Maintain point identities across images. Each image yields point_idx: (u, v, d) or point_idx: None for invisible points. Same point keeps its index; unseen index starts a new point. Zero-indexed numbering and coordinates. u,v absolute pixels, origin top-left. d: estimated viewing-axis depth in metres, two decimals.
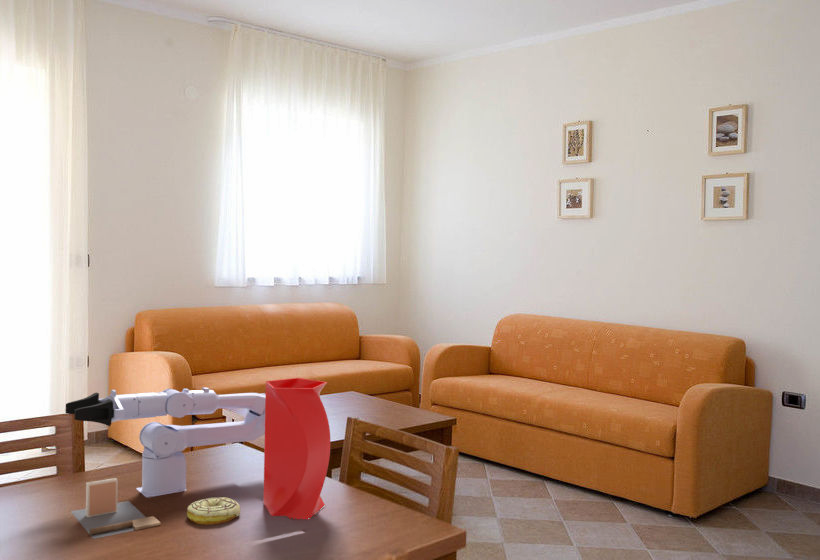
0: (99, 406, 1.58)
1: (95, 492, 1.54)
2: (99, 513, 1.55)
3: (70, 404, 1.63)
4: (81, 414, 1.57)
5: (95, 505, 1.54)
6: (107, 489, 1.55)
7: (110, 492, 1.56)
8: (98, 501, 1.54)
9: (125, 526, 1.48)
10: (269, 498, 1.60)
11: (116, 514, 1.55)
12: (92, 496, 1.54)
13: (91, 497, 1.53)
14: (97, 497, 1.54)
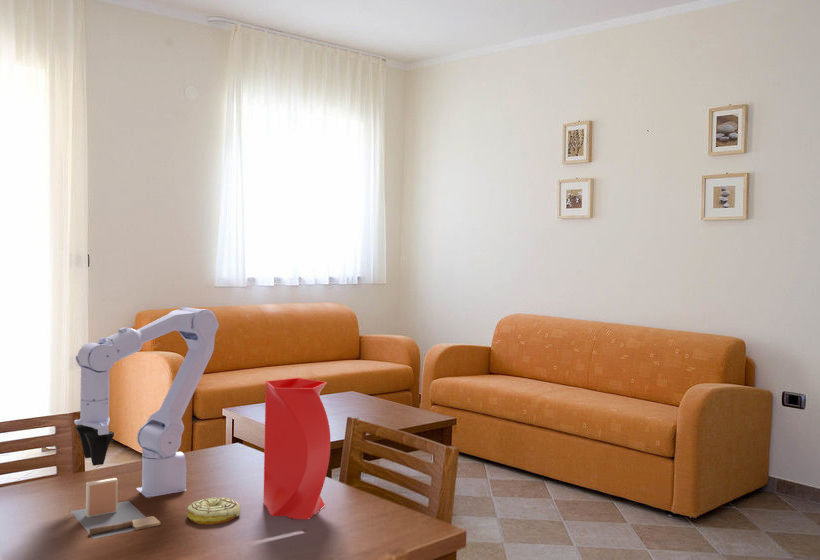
0: (92, 445, 1.55)
1: (95, 492, 1.54)
2: (99, 513, 1.55)
3: (86, 454, 1.62)
4: (98, 459, 1.57)
5: (95, 505, 1.54)
6: (107, 489, 1.55)
7: (110, 492, 1.56)
8: (98, 501, 1.54)
9: (125, 526, 1.48)
10: (269, 498, 1.60)
11: (116, 514, 1.55)
12: (92, 496, 1.54)
13: (91, 497, 1.53)
14: (97, 497, 1.54)
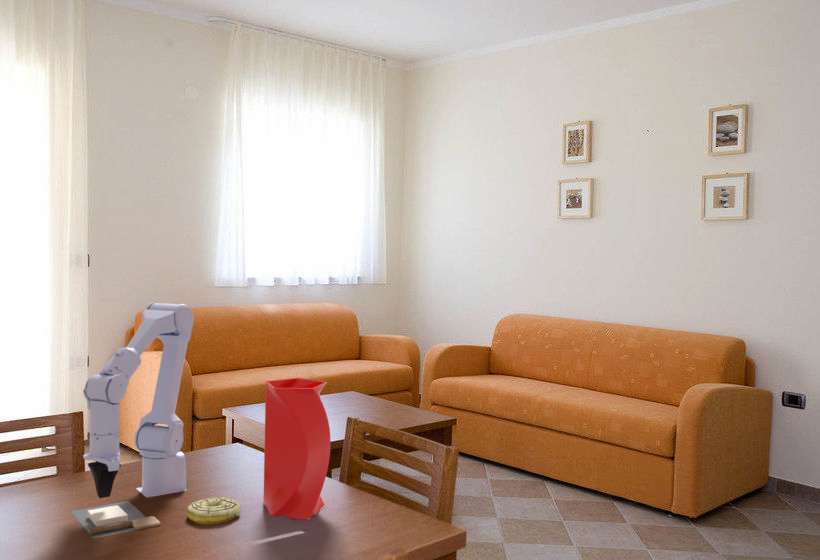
0: (98, 478, 1.52)
1: None
2: None
3: None
4: (104, 492, 1.54)
5: None
6: None
7: None
8: None
9: (125, 526, 1.48)
10: (269, 498, 1.60)
11: None
12: None
13: None
14: None
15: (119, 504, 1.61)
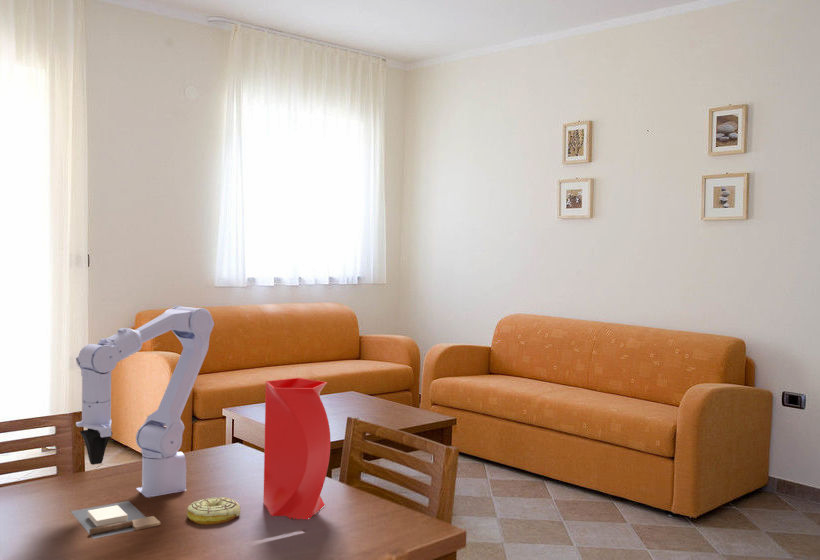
0: (90, 445, 1.56)
1: None
2: None
3: None
4: (96, 458, 1.58)
5: None
6: None
7: None
8: None
9: (125, 526, 1.48)
10: (269, 498, 1.60)
11: None
12: None
13: None
14: None
15: (119, 504, 1.61)
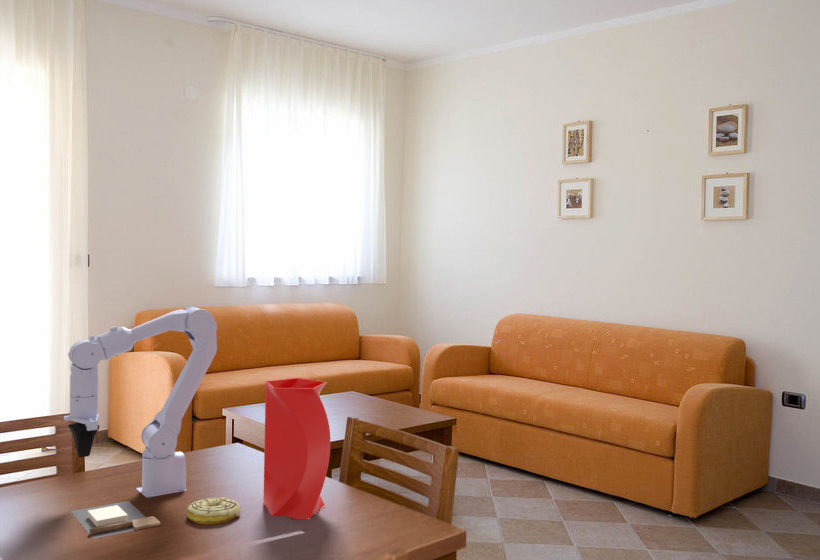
0: (77, 438, 1.61)
1: None
2: None
3: None
4: (84, 451, 1.63)
5: None
6: None
7: None
8: None
9: (125, 526, 1.48)
10: (269, 498, 1.60)
11: None
12: None
13: None
14: None
15: (119, 504, 1.61)
